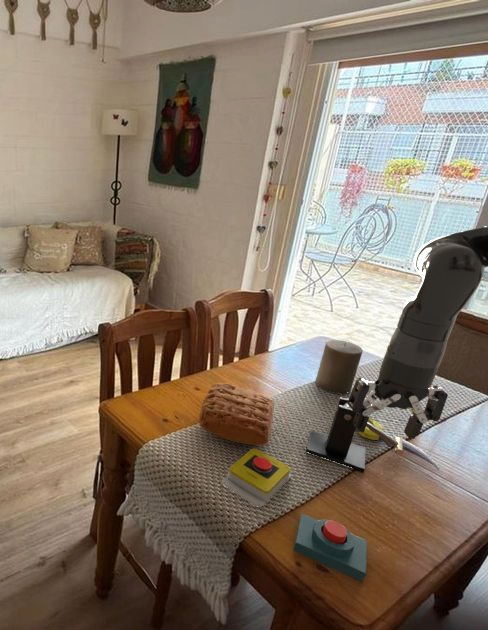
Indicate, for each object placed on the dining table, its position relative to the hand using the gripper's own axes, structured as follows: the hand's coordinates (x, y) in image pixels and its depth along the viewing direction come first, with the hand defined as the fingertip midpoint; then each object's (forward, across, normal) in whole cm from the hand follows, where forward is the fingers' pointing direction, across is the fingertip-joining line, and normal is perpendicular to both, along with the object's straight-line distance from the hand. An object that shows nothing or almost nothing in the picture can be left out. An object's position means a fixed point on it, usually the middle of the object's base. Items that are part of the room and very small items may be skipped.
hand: (383, 432), depth 82 cm
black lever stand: (+20, +4, +20) cm, 28 cm away
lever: (+12, +8, +18) cm, 23 cm away
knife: (+20, +18, +27) cm, 38 cm away
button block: (+20, -8, -10) cm, 24 cm away
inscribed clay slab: (+20, -19, +25) cm, 38 cm away
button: (+17, -8, -10) cm, 21 cm away
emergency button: (+20, -18, +6) cm, 28 cm away
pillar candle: (+20, +15, +53) cm, 59 cm away
